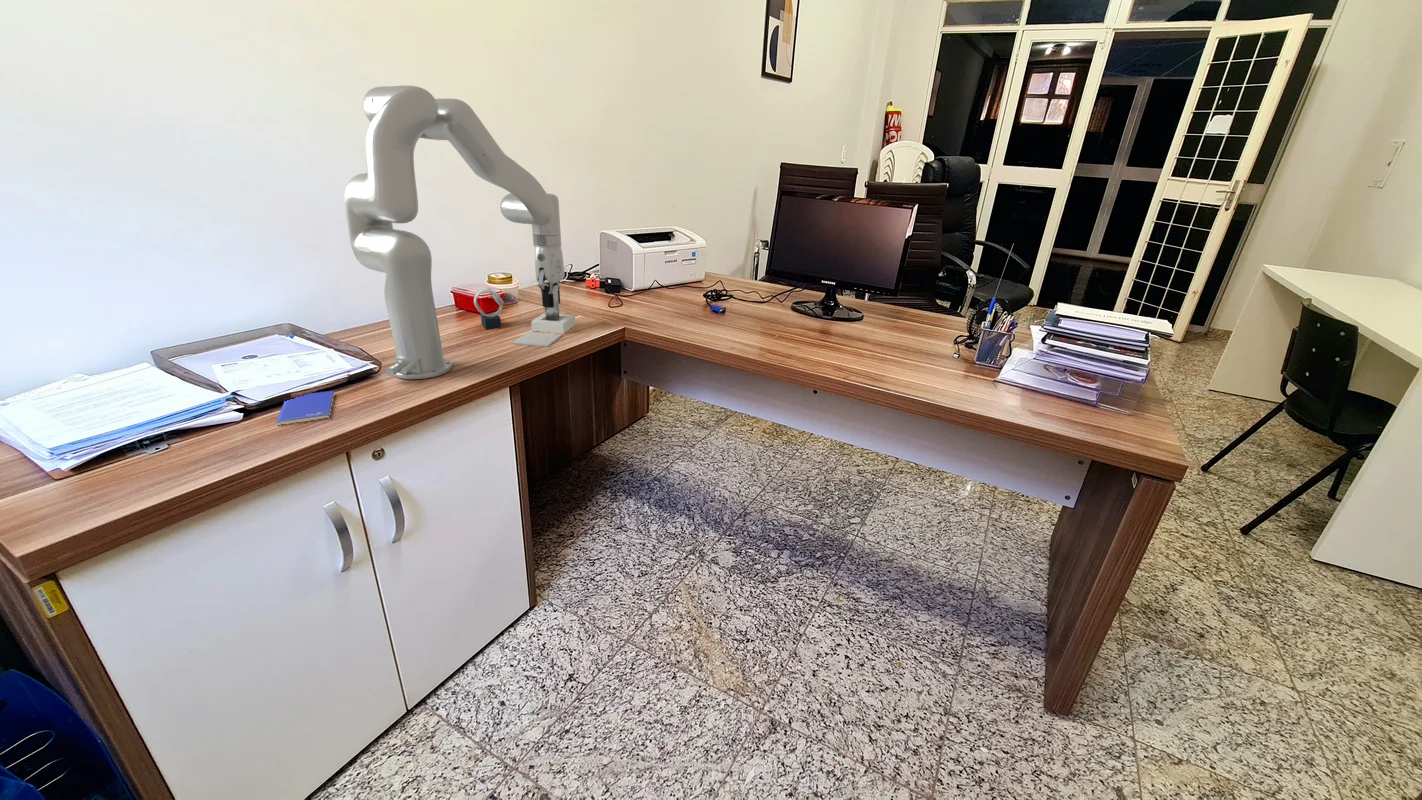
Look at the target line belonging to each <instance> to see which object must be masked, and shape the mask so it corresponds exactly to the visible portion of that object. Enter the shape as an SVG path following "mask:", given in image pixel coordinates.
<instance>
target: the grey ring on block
mask: <svg viewBox="0 0 1422 800" xmlns="http://www.w3.org/2000/svg"><path fill="white" fill-rule="evenodd" d="M486 292H487V293H488V292H489V294H490V296H491V297H492V298H493V300H494V301H495V302H496V303H497V304H498V305H499V307H498V309H497V311H495V312H493V313H485V312H484V311H483V310H482V309H481V307H480V306H479V303H478V301H477V300H478V298H479V296H480V295H482V294H483V293H486ZM504 303H505V302H504V301H503V298H502V297H501V296H500V295H499V294H498V293H497V291H495V290H494V289H493V288H492V289H490V288H482V289H479V290H478V291H477V292H476V293H475V294H474V297H473V304H474V306H475V308H476V309H477V311H478V312H479V313H480V320H481V322H480V323H481V326H482V325H483V326H482V327H483V328H484V330H495V328H497V329H502V328H501V327H502V319H501V316H499V315H500V314H501V312H502V311H503V309H504Z"/></svg>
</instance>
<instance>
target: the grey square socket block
mask: <svg viewBox="0 0 1422 800" xmlns="http://www.w3.org/2000/svg"><path fill="white" fill-rule="evenodd" d="M559 317H560V319H559V320H557V321H548V320H546V318H545V312H543V313H542V314H540V315H539V316H538V317H536V318H534V319H532V320H531V322H530V323H531V332H535V331H540V332H539V333H548V332H550V333H549V334H559V335H562V334H563V335H564V334H566V332H568V331H570V330H571V329H572V328H573V327H575V326H576V325H575V324H576V315H575V314H567V313H566V314H565V313H559ZM574 325H575V326H574ZM571 327H572V328H571ZM570 328H571V329H570Z"/></svg>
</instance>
